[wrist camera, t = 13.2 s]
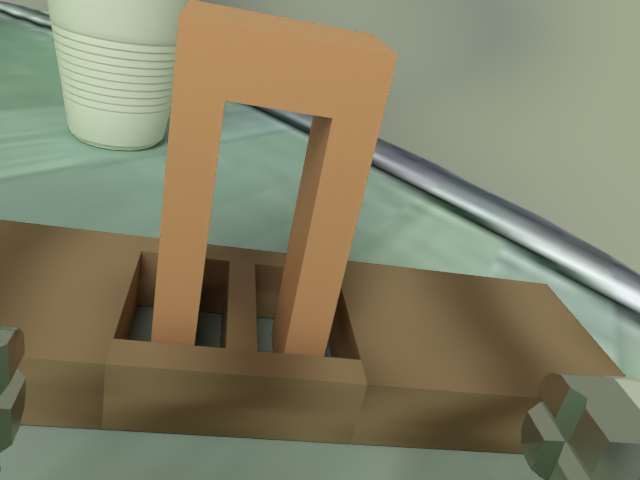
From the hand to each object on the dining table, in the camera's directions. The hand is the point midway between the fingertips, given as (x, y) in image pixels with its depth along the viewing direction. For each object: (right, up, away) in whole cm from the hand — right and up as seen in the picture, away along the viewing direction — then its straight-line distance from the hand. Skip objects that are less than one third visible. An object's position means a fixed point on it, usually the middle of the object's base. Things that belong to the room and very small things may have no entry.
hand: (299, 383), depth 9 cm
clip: (-3, -2, +13) cm, 14 cm away
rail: (-3, -2, +13) cm, 14 cm away
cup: (-14, +9, +32) cm, 36 cm away
